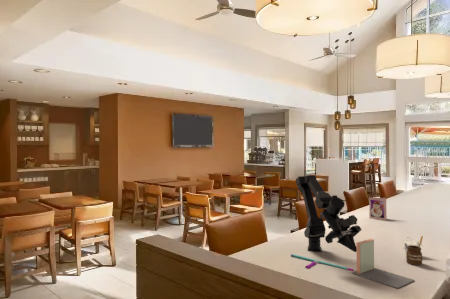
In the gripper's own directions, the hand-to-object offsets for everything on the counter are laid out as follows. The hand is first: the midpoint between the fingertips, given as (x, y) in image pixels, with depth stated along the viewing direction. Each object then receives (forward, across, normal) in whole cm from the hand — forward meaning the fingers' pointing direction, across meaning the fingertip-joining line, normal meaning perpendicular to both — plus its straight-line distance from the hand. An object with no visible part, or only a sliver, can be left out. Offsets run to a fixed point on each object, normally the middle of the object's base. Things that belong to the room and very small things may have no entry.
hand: (356, 251), depth 134 cm
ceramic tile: (+4, 0, -2) cm, 4 cm away
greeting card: (-30, +103, +40) cm, 114 cm away
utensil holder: (+13, +26, -2) cm, 29 cm away
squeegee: (-3, -11, +14) cm, 18 cm away
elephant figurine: (+8, +37, +2) cm, 38 cm away
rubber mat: (+13, 0, -3) cm, 13 cm away
